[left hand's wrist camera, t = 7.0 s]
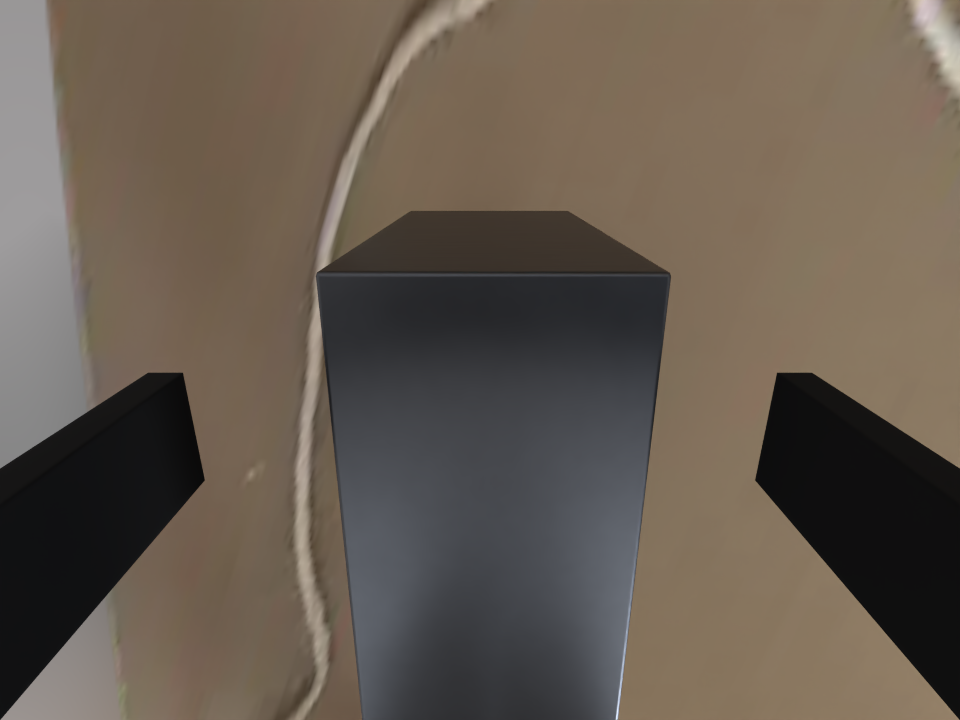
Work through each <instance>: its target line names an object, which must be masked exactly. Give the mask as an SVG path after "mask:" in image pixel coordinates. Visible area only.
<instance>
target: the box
mask: <svg viewBox="0 0 960 720" xmlns="http://www.w3.org/2000/svg"><path fill="white" fill-rule="evenodd" d="M316 280H317V290H318V300H319V309H320V319H321V328H322V338H323V347H324V357H325V367H326V376H327V386H328V395H329V405H330V414H331V424H332V434H333V443H334V453H335V462H336V472H337V481H338V491H339V501H340V510H341V520H342V529H343V539H344V548H345V558H346V568H347V577H348V587H349V596H350V606H351V615H352V625H353V635H354V644H355V654H356V663H357V673H358V682H359V692H360V702H361V711H362V720H618V714H619V705H620V697H621V689H622V680H623V672H624V664H625V655H626V647H627V639H628V630H629V622H630V614H631V605H632V597H633V589H634V580H635V572H636V564H637V555H638V547H639V539H640V530H641V522H642V514H643V505H644V497H645V489H646V480H647V472H648V464H649V455H650V447H651V439H652V430H653V422H654V414H655V405H656V397H657V389H658V380H659V372H660V364H661V355H662V347H663V339H664V330H665V322H666V314H667V305H668V297H669V289H670V280H671V275H670V273H669V272H667V271H666V270H664V269H662V268H661V267H659V266H658V265H656V264H654V263H653V262H651V261H649V260H648V259H646V258H644V257H643V256H641V255H639V254H638V253H636V252H634V251H633V250H631V249H630V248H628V247H626V246H625V245H623V244H621V243H620V242H618V241H616V240H615V239H613V238H611V237H610V236H608V235H606V234H605V233H603V232H602V231H600V230H598V229H597V228H595V227H593V226H592V225H590V224H588V223H587V222H585V221H583V220H582V219H580V218H578V217H577V216H575V215H574V214H572V213H570V212H568V211H410V212H409V213H407V214H406V215H404V216H403V217H401V218H399V219H398V220H396V221H395V222H393V223H392V224H390V225H389V226H387V227H386V228H384V229H383V230H381V231H380V232H378V233H377V234H375V235H374V236H372V237H371V238H369V239H367V240H366V241H364V242H363V243H361V244H360V245H358V246H357V247H355V248H354V249H352V250H351V251H349V252H348V253H346V254H345V255H343V256H342V257H340V258H339V259H337V260H335V261H334V262H332V263H331V264H329V265H328V266H326V267H325V268H323V269H322V270H320V271H319V272H317V275H316Z"/></svg>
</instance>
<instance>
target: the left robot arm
mask: <svg viewBox="0 0 960 720" xmlns="http://www.w3.org/2000/svg"><path fill="white" fill-rule="evenodd" d="M204 481H205V479H204V474H203V469H202V464H201V459H200V455H199V450H198V445H197V440H196V435H195V430H194V425H193V420H192V415H191V410H190V406H189V401H188V396H187V391H186V386H185V381H184V376H183V373H147V374H145V375H144V376H142V377H141V378H139V379H138V380H136V381H135V382H133V383H132V384H130V385H129V386H127V387H125V388H124V389H122V390H121V391H119V392H118V393H116V394H115V395H113V396H112V397H110V398H108V399H107V400H105V401H104V402H102V403H101V404H99V405H98V406H96V407H95V408H93V409H91V410H90V411H88V412H87V413H85V414H84V415H82V416H81V417H79V418H78V419H76V420H75V421H73V422H71V423H70V424H68V425H67V426H65V427H64V428H62V429H61V430H59V431H58V432H56V433H54V434H53V435H51V436H50V437H48V438H47V439H45V440H44V441H42V442H41V443H39V444H37V445H36V446H34V447H33V448H31V449H30V450H28V451H27V452H25V453H24V454H22V455H21V456H19V457H17V458H16V459H14V460H13V461H11V462H10V463H8V464H7V465H5V466H4V467H2V468H0V720H1V718H2V717H3V716H4V715H5V714H6V713H7V711H8V710H9V709H10V708H11V707H12V706H13V704H14V703H15V702H16V701H17V700H18V698H19V697H20V696H21V695H22V694H23V693H24V691H25V690H26V689H27V688H28V687H29V686H30V684H31V683H32V682H33V681H34V680H35V679H36V677H37V676H38V675H39V674H40V673H41V672H42V670H43V669H44V668H45V667H46V666H47V664H48V663H49V662H50V661H51V660H52V659H53V657H54V656H55V655H56V654H57V653H58V652H59V650H60V649H61V648H62V647H63V646H64V645H65V643H66V642H67V641H68V640H69V639H70V638H71V636H72V635H73V634H74V633H75V632H76V631H77V629H78V628H79V627H80V626H81V625H82V623H83V622H84V621H85V620H86V619H87V618H88V616H89V615H90V614H91V613H92V612H93V611H94V609H95V608H96V607H97V606H98V605H99V604H100V602H101V601H102V600H103V599H104V598H105V597H106V595H107V594H108V593H109V592H110V591H111V590H112V588H113V587H114V586H115V585H116V584H117V582H118V581H119V580H120V579H121V578H122V577H123V575H124V574H125V573H126V572H127V571H128V570H129V568H130V567H131V566H132V565H133V564H134V563H135V561H136V560H137V559H138V558H139V557H140V556H141V554H142V553H143V552H144V551H145V550H146V549H147V547H148V546H149V545H150V544H151V543H152V541H153V540H154V539H155V538H156V537H157V536H158V534H159V533H160V532H161V531H162V530H163V529H164V527H165V526H166V525H167V524H168V523H169V522H170V520H171V519H172V518H173V517H174V516H175V515H176V513H177V512H178V511H179V510H180V509H181V508H182V506H183V505H184V504H185V503H186V502H187V500H188V499H189V498H190V497H191V496H192V495H193V493H194V492H195V491H196V490H197V489H198V488H199V486H200V485H201V484H202V483H203V482H204ZM755 481H756V482H757V483H758V484H759V485H760V486H761V488H762V489H763V490H764V491H765V492H766V493H767V495H768V496H769V497H770V498H771V499H772V500H773V502H774V503H775V504H776V505H777V506H778V508H779V509H780V510H781V511H782V512H783V513H784V515H785V516H786V517H787V518H788V519H789V520H790V522H791V523H792V524H793V525H794V526H795V527H796V529H797V530H798V531H799V532H800V533H801V534H802V536H803V537H804V538H805V539H806V540H807V541H808V543H809V544H810V545H811V546H812V547H813V549H814V550H815V551H816V552H817V553H818V554H819V556H820V557H821V558H822V559H823V560H824V561H825V563H826V564H827V565H828V566H829V567H830V568H831V570H832V571H833V572H834V573H835V574H836V575H837V577H838V578H839V579H840V580H841V581H842V582H843V584H844V585H845V586H846V587H847V588H848V590H849V591H850V592H851V593H852V594H853V595H854V597H855V598H856V599H857V600H858V601H859V602H860V604H861V605H862V606H863V607H864V608H865V609H866V611H867V612H868V613H869V614H870V615H871V616H872V618H873V619H874V620H875V621H876V622H877V624H878V625H879V626H880V627H881V628H882V629H883V631H884V632H885V633H886V634H887V635H888V636H889V638H890V639H891V640H892V641H893V642H894V643H895V645H896V646H897V647H898V648H899V649H900V650H901V652H902V653H903V654H904V655H905V656H906V657H907V659H908V660H909V661H910V662H911V663H912V665H913V666H914V667H915V668H916V669H917V670H918V672H919V673H920V674H921V675H922V676H923V677H924V679H925V680H926V681H927V682H928V683H929V684H930V686H931V687H932V688H933V689H934V690H935V691H936V693H937V694H938V695H939V696H940V697H941V698H942V700H943V701H944V702H945V703H946V704H947V706H948V707H949V708H950V709H951V710H952V711H953V713H954V714H955V715H956V716H957V717H958V718H959V720H960V468H958V467H956V466H955V465H953V464H952V463H950V462H949V461H947V460H946V459H944V458H943V457H941V456H940V455H938V454H936V453H935V452H933V451H932V450H930V449H929V448H927V447H926V446H924V445H923V444H921V443H919V442H918V441H916V440H915V439H913V438H912V437H910V436H909V435H907V434H906V433H904V432H902V431H901V430H899V429H898V428H896V427H895V426H893V425H892V424H890V423H889V422H887V421H885V420H884V419H882V418H881V417H879V416H878V415H876V414H875V413H873V412H872V411H870V410H869V409H867V408H865V407H864V406H862V405H861V404H859V403H858V402H856V401H855V400H853V399H852V398H850V397H848V396H847V395H845V394H844V393H842V392H841V391H839V390H838V389H836V388H835V387H833V386H831V385H830V384H828V383H827V382H825V381H824V380H822V379H821V378H819V377H818V376H816V375H815V374H813V373H777V376H776V381H775V386H774V391H773V396H772V401H771V406H770V410H769V415H768V420H767V425H766V430H765V435H764V440H763V445H762V450H761V455H760V459H759V464H758V469H757V474H756V479H755Z"/></svg>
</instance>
